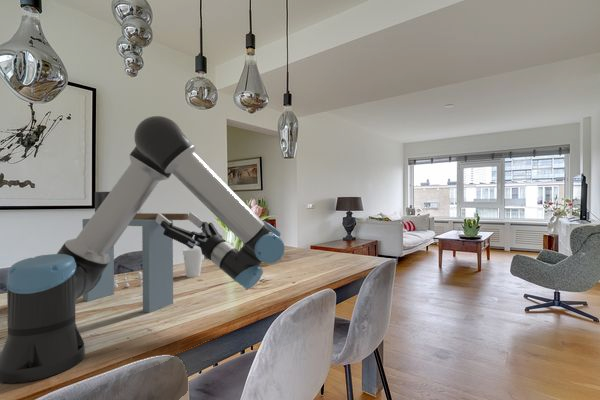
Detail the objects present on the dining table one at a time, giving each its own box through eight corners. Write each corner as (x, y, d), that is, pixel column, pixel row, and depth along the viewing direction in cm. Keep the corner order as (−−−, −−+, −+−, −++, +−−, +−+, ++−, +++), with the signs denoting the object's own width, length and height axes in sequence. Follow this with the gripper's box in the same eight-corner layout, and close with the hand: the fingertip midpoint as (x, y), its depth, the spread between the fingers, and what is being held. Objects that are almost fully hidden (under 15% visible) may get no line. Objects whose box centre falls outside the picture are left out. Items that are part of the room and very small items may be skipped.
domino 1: (97, 218, 117) (97, 191, 117) (94, 218, 117) (94, 192, 117) (110, 218, 121) (110, 192, 121) (107, 218, 122) (107, 192, 122)
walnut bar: (181, 220, 102) (181, 213, 102) (129, 219, 111) (129, 213, 111) (188, 219, 104) (188, 213, 104) (137, 218, 114) (137, 213, 114)
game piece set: (127, 277, 153) (126, 269, 153) (166, 278, 151) (166, 270, 151) (97, 288, 134) (97, 279, 134) (142, 289, 132) (142, 280, 132)
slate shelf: (149, 312, 102) (148, 220, 103) (82, 300, 116) (82, 219, 116) (173, 303, 112) (172, 218, 112) (109, 293, 125) (108, 217, 125)
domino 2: (104, 219, 115) (104, 191, 115) (102, 218, 116) (101, 191, 116) (117, 218, 120) (117, 192, 120) (114, 218, 120) (114, 192, 120)
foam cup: (178, 277, 151) (178, 250, 151) (190, 273, 160) (190, 247, 160) (195, 278, 148) (195, 250, 148) (207, 274, 157) (206, 248, 157)
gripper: (184, 268, 87) (137, 228, 95) (237, 255, 110) (196, 223, 117) (194, 246, 86) (146, 206, 93) (246, 236, 108) (204, 205, 116)
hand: (174, 216), depth 105 cm, fingers open, 13 cm apart
